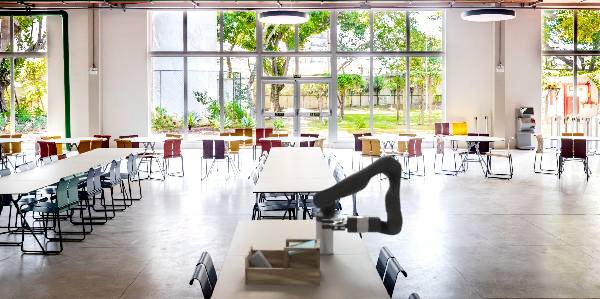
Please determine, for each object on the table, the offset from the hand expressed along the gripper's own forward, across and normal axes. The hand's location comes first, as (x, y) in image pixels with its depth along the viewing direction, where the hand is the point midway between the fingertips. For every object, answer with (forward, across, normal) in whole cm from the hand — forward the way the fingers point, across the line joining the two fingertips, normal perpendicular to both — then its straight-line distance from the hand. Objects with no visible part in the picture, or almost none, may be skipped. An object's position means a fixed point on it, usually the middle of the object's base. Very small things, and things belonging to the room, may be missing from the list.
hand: (321, 224), depth 274 cm
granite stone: (+31, 0, +15) cm, 34 cm away
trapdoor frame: (+17, 0, +25) cm, 30 cm away
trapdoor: (+9, 0, +11) cm, 14 cm away
